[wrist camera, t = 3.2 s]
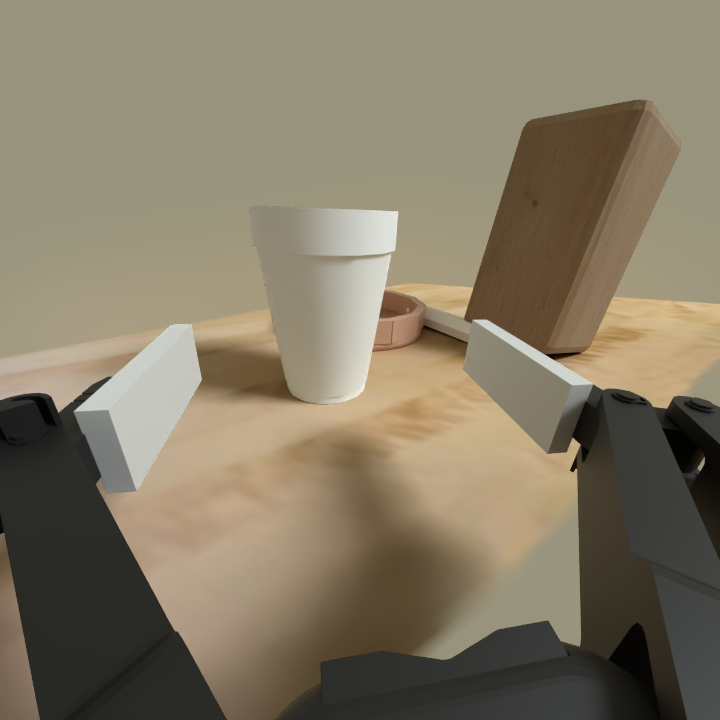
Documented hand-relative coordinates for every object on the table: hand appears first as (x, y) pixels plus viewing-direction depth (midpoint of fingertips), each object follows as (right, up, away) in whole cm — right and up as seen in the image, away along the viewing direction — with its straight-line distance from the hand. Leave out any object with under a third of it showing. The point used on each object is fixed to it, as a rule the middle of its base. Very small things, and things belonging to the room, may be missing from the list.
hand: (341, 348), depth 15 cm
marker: (+13, +2, +22) cm, 25 cm away
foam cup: (-2, -3, +11) cm, 12 cm away
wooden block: (+19, +2, +20) cm, 28 cm away
